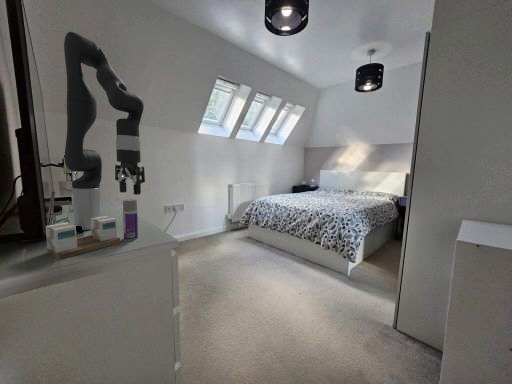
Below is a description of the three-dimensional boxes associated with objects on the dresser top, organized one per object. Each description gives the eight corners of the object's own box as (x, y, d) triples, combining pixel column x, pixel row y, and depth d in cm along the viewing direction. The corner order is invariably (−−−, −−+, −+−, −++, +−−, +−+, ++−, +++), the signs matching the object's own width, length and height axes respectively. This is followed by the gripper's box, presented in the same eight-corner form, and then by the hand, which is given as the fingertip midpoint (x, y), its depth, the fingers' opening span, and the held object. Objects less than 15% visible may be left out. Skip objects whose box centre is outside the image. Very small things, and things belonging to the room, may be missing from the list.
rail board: (47, 252, 67) (45, 225, 66) (106, 237, 82) (105, 215, 80) (60, 259, 62) (58, 231, 61) (120, 242, 77) (119, 219, 76)
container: (140, 237, 84) (139, 199, 82) (132, 241, 79) (131, 201, 77) (129, 236, 84) (128, 198, 82) (120, 240, 80) (119, 200, 78)
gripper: (106, 148, 78) (108, 192, 80) (130, 148, 71) (131, 196, 73) (127, 150, 84) (128, 190, 86) (150, 150, 78) (151, 194, 80)
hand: (130, 193), depth 80 cm, fingers open, 8 cm apart
